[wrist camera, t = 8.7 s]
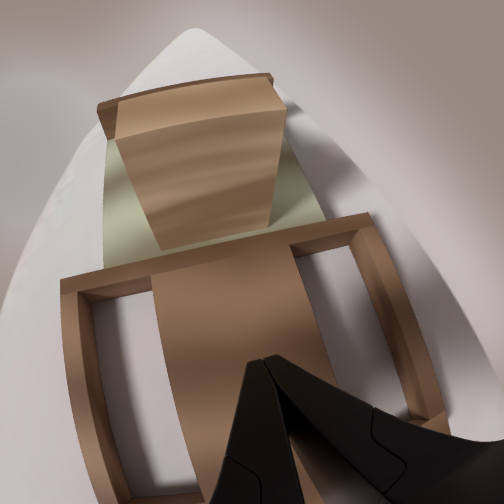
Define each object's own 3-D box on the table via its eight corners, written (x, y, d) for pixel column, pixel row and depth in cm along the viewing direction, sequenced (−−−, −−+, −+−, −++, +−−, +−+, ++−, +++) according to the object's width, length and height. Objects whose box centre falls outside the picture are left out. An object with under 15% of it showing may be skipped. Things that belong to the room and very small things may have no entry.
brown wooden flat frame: (432, 437, 13) (486, 439, 8) (124, 524, 10) (90, 557, 5) (296, 117, 25) (305, 71, 20) (83, 159, 22) (62, 115, 17)
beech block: (267, 227, 17) (287, 109, 10) (161, 251, 16) (114, 139, 9) (228, 119, 21) (228, 24, 14) (150, 134, 20) (129, 40, 13)
